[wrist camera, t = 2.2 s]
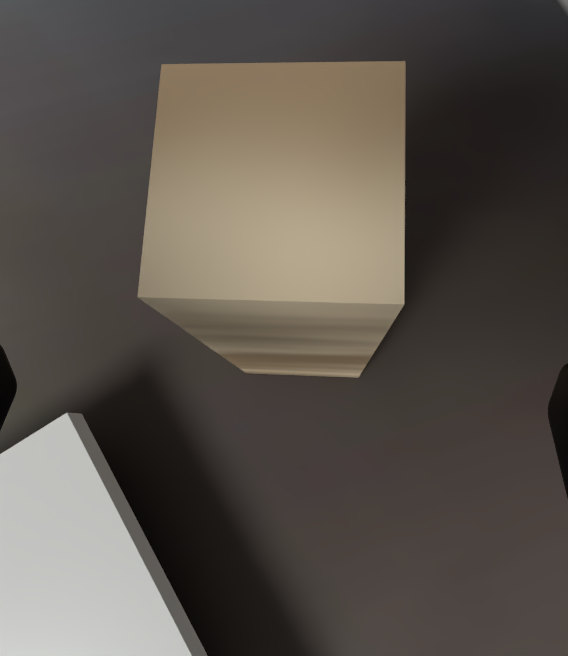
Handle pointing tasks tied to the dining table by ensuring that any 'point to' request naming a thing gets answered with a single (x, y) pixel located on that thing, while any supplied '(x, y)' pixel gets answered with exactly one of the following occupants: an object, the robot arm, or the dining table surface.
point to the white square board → (79, 557)
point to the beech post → (279, 211)
